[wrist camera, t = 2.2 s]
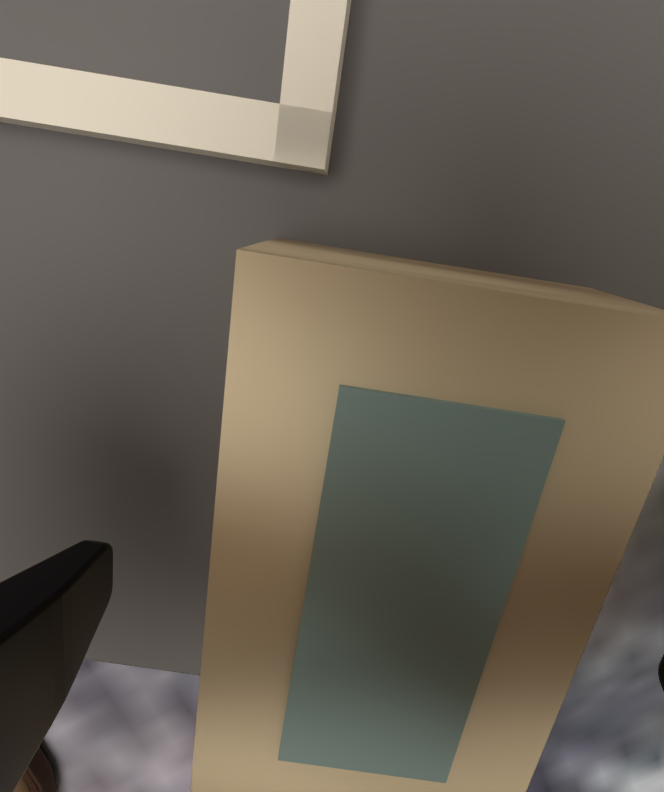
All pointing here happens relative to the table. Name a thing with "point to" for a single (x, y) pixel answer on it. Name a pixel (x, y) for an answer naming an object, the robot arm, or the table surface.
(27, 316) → the mat
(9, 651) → the robot arm
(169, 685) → the table surface
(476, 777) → the slab
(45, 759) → the compass
